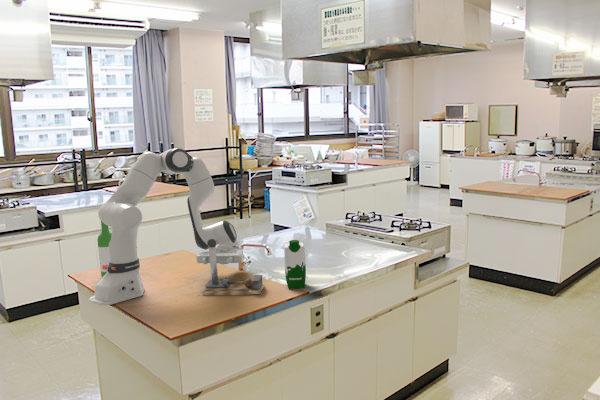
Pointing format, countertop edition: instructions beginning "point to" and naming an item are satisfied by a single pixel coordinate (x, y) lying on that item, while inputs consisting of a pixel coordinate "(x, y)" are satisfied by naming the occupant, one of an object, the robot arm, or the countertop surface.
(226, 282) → the ball-top joystick lever
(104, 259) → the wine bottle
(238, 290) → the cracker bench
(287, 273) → the milk carton
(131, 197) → the robot arm
